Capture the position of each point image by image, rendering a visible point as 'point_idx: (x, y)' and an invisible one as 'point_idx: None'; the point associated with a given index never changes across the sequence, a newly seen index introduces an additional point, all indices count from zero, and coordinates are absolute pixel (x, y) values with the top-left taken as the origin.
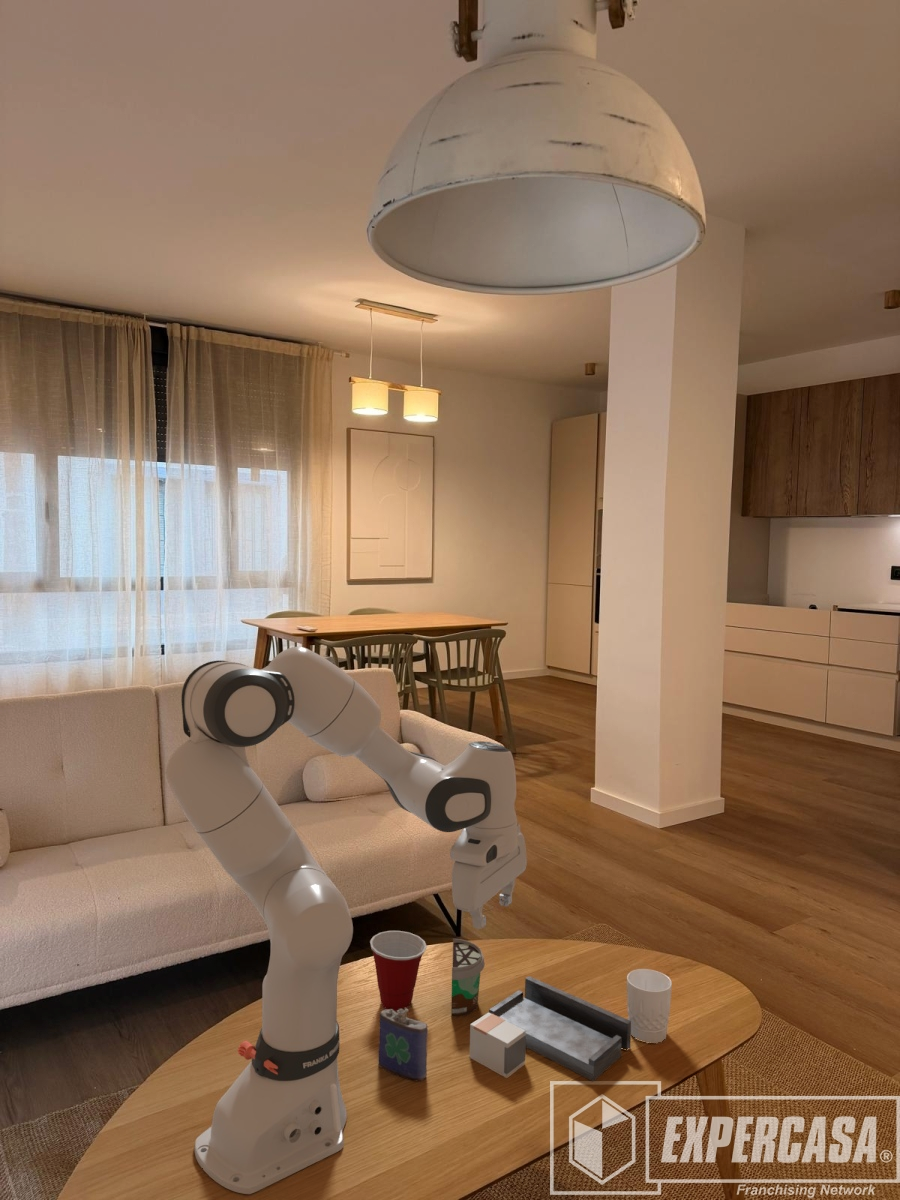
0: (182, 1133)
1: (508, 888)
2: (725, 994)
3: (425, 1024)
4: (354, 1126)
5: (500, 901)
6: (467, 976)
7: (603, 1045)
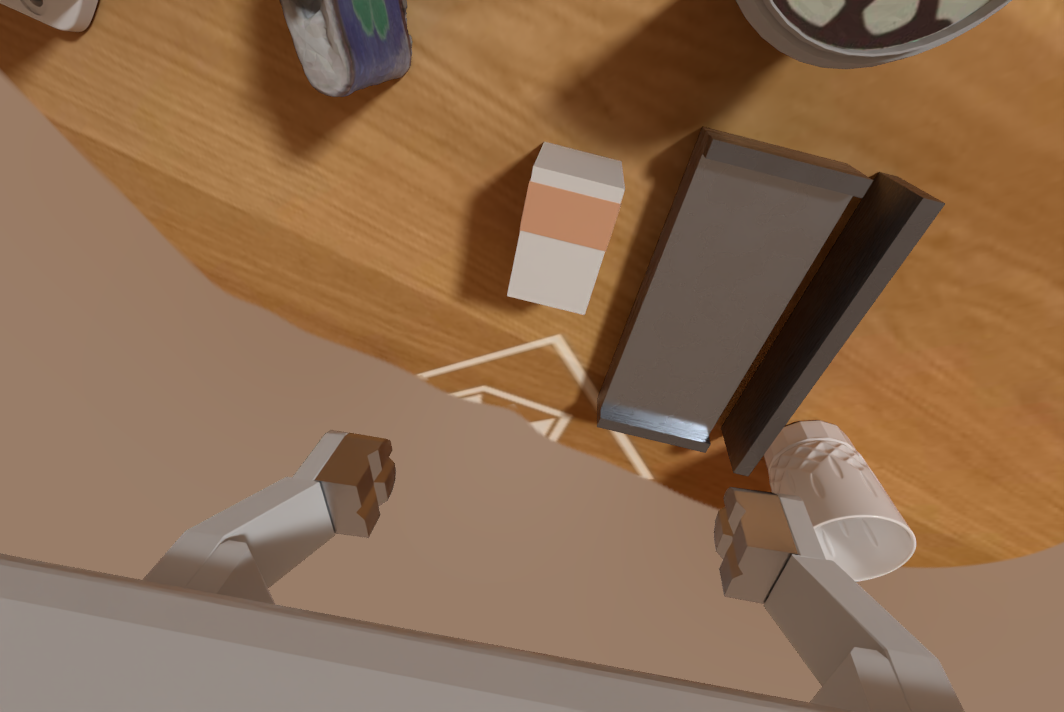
0: None
1: (813, 637)
2: (1006, 539)
3: (343, 83)
4: (145, 5)
5: (733, 508)
6: (767, 37)
7: (679, 419)
